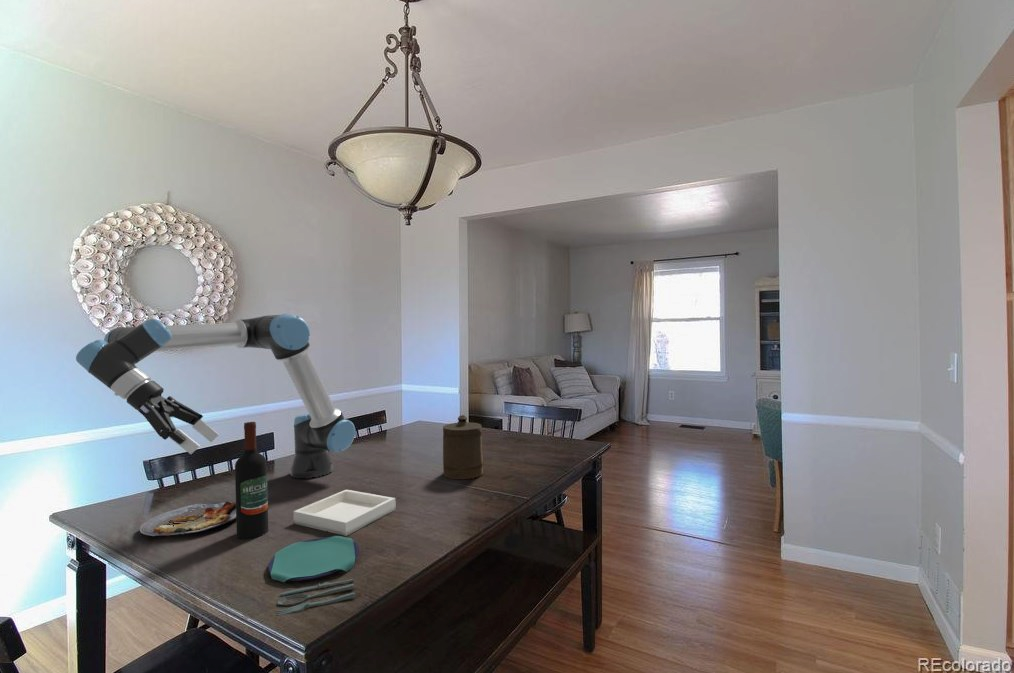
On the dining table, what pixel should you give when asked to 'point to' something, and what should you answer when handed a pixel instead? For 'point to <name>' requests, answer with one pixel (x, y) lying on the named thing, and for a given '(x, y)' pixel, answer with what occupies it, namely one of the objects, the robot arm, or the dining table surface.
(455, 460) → the wooden container
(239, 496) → the wine bottle
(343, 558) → the cutlery set
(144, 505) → the dining table surface
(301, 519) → the tray
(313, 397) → the robot arm
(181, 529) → the food plate
